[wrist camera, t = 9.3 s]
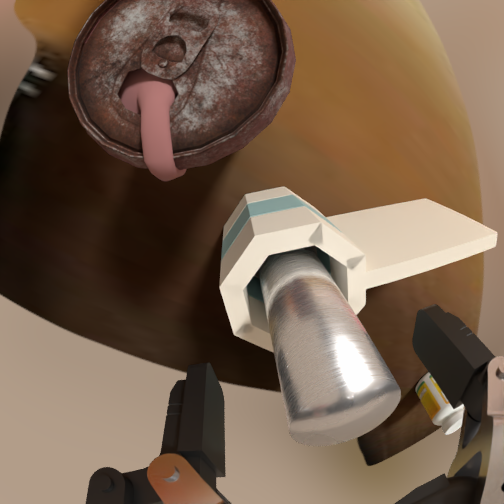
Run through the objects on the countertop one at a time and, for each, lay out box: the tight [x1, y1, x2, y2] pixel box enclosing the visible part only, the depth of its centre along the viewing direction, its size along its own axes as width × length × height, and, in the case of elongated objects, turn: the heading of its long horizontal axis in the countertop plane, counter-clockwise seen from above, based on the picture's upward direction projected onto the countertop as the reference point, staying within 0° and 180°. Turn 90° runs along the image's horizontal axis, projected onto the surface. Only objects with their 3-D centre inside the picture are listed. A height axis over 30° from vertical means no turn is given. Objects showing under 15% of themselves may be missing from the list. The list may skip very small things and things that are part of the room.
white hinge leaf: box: [219, 187, 497, 352], centre depth 17 cm, size 7×18×9 cm, turn 102°
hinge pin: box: [258, 246, 401, 446], centre depth 14 cm, size 4×4×16 cm
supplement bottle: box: [416, 372, 464, 435], centre depth 27 cm, size 5×5×10 cm
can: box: [67, 0, 296, 181], centre depth 11 cm, size 6×6×14 cm
